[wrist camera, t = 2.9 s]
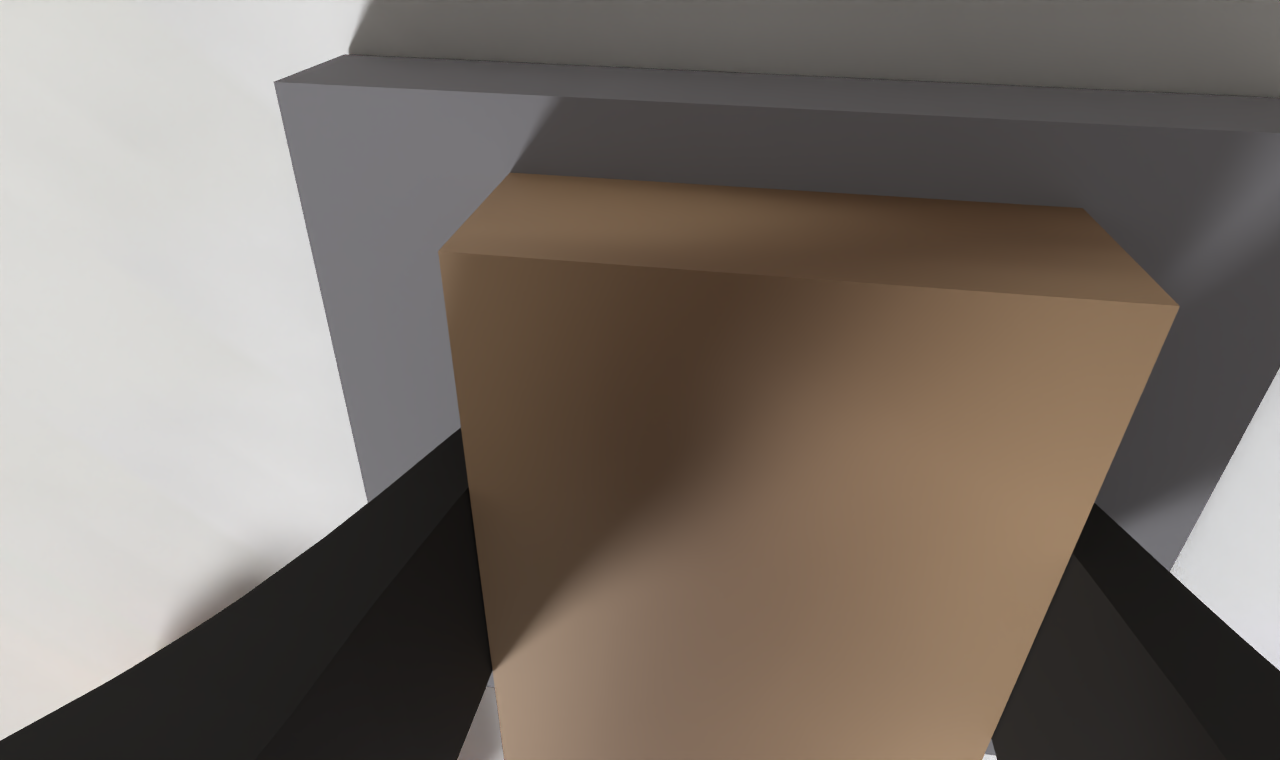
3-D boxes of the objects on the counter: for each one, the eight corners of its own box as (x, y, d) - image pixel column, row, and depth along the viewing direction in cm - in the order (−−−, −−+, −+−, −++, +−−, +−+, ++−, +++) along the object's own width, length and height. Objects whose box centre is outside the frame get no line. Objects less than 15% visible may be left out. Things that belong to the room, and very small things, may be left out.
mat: (1298, 98, 8) (1402, 138, 6) (1035, 677, 13) (1065, 764, 11) (344, 54, 9) (273, 82, 8) (439, 602, 14) (406, 675, 12)
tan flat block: (1082, 207, 7) (1179, 305, 5) (913, 711, 11) (939, 857, 9) (509, 172, 8) (437, 251, 6) (545, 663, 12) (508, 792, 10)
